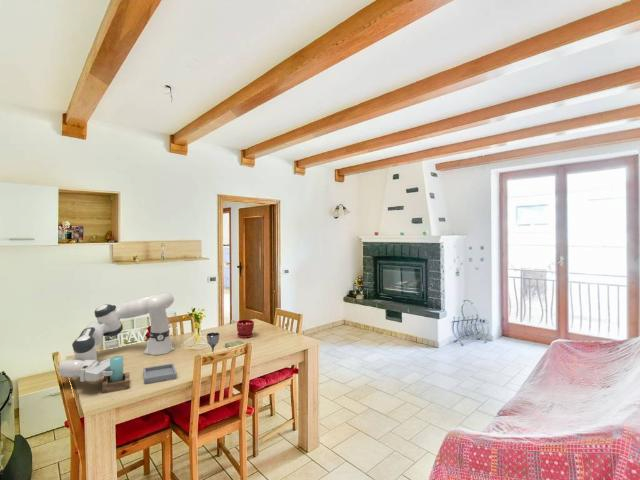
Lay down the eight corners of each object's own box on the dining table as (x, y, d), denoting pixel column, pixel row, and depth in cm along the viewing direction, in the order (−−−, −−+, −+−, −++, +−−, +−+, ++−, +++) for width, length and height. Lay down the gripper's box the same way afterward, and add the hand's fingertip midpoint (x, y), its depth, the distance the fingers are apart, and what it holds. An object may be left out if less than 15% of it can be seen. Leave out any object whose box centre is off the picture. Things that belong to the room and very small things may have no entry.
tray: (143, 373, 197) (143, 368, 197) (173, 368, 205) (173, 363, 204) (144, 384, 183) (144, 378, 183) (176, 378, 191) (176, 373, 191)
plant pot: (233, 337, 265) (233, 322, 264) (242, 333, 277) (242, 318, 277) (248, 339, 261) (248, 324, 261) (256, 335, 274) (256, 320, 273)
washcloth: (235, 353, 232) (235, 349, 232) (223, 347, 245) (223, 342, 245) (252, 349, 241) (252, 345, 241) (239, 343, 254) (239, 338, 254)
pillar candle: (109, 384, 181) (110, 357, 180) (123, 382, 184) (123, 355, 183) (109, 389, 176) (109, 361, 175) (122, 387, 179) (123, 359, 178)
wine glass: (220, 354, 229) (220, 332, 228) (217, 359, 221) (217, 336, 220) (208, 354, 228) (208, 332, 228) (204, 358, 221) (205, 335, 220)
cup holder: (103, 383, 182) (103, 376, 182) (129, 379, 188) (129, 372, 188) (102, 393, 172) (102, 385, 172) (129, 388, 178) (129, 380, 177)
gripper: (103, 366, 190) (128, 367, 190) (78, 383, 169) (106, 383, 170) (103, 355, 190) (128, 356, 190) (78, 370, 169) (106, 371, 169)
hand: (118, 369), depth 180 cm, fingers open, 8 cm apart
